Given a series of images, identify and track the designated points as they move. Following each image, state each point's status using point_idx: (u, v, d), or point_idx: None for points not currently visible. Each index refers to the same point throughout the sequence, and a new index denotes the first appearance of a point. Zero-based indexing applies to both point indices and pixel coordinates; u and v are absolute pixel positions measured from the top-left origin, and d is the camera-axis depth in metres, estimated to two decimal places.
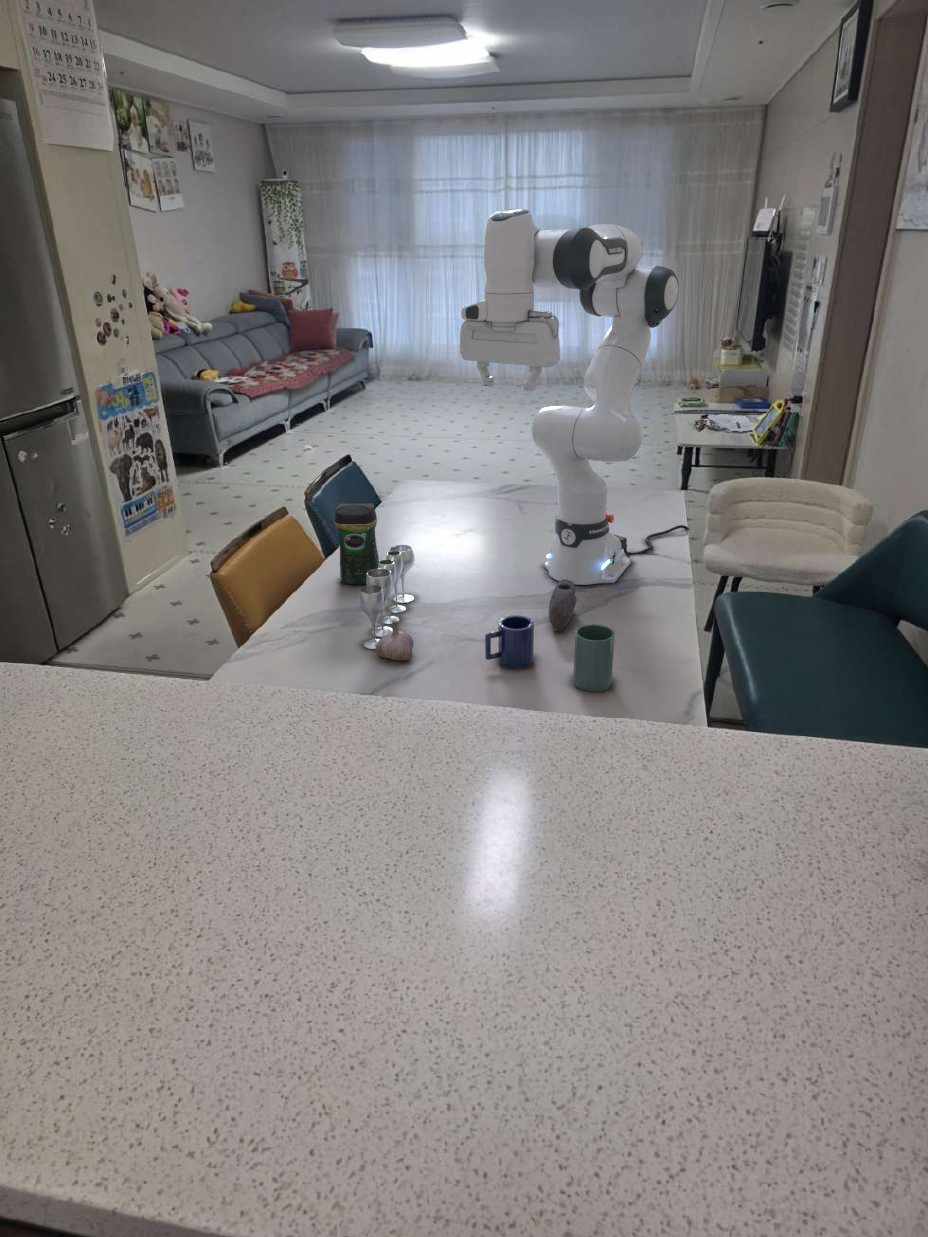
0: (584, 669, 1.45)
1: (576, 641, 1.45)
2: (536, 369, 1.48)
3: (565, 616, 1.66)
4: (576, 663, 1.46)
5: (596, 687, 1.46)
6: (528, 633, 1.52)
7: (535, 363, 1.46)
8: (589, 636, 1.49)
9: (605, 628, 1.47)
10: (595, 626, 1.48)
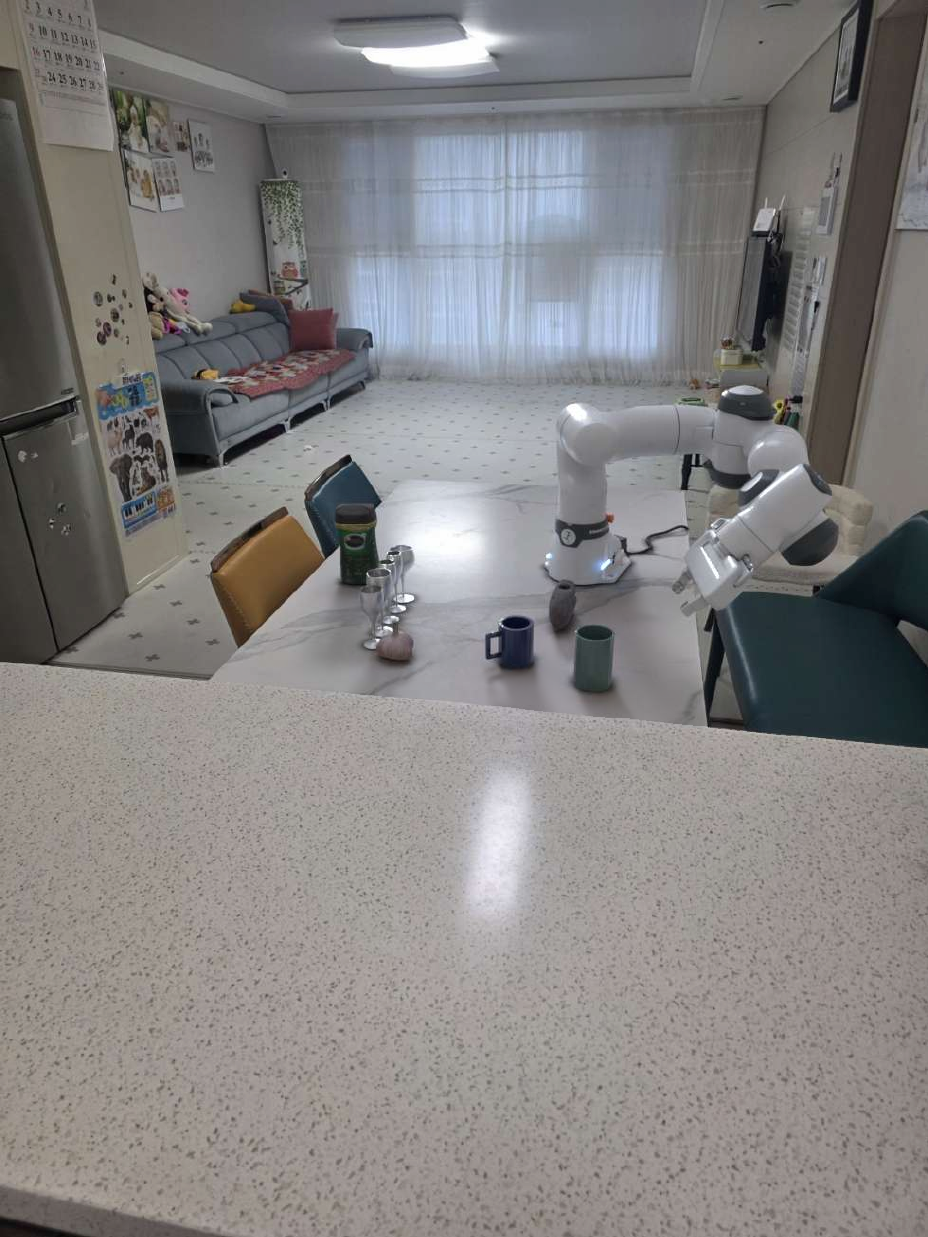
0: (584, 669, 1.45)
1: (576, 641, 1.45)
2: (700, 598, 1.34)
3: (565, 616, 1.66)
4: (576, 663, 1.46)
5: (596, 687, 1.46)
6: (528, 633, 1.52)
7: (702, 590, 1.33)
8: (589, 636, 1.49)
9: (605, 628, 1.47)
10: (595, 626, 1.48)
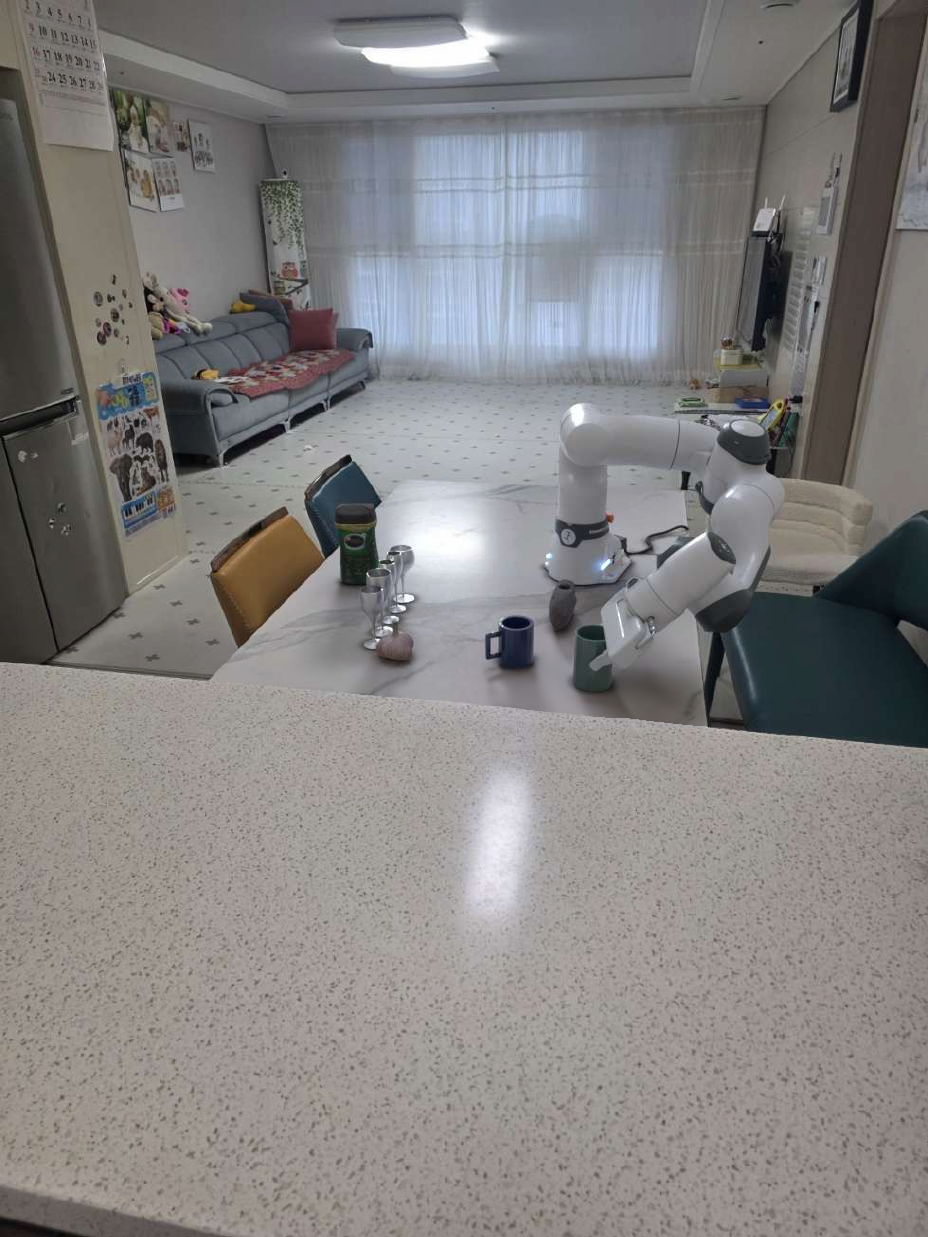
0: (584, 669, 1.45)
1: (576, 641, 1.45)
2: (607, 654, 1.40)
3: (565, 616, 1.66)
4: (576, 663, 1.46)
5: (596, 687, 1.46)
6: (528, 633, 1.52)
7: (608, 649, 1.38)
8: (589, 636, 1.49)
9: None
10: (595, 626, 1.48)
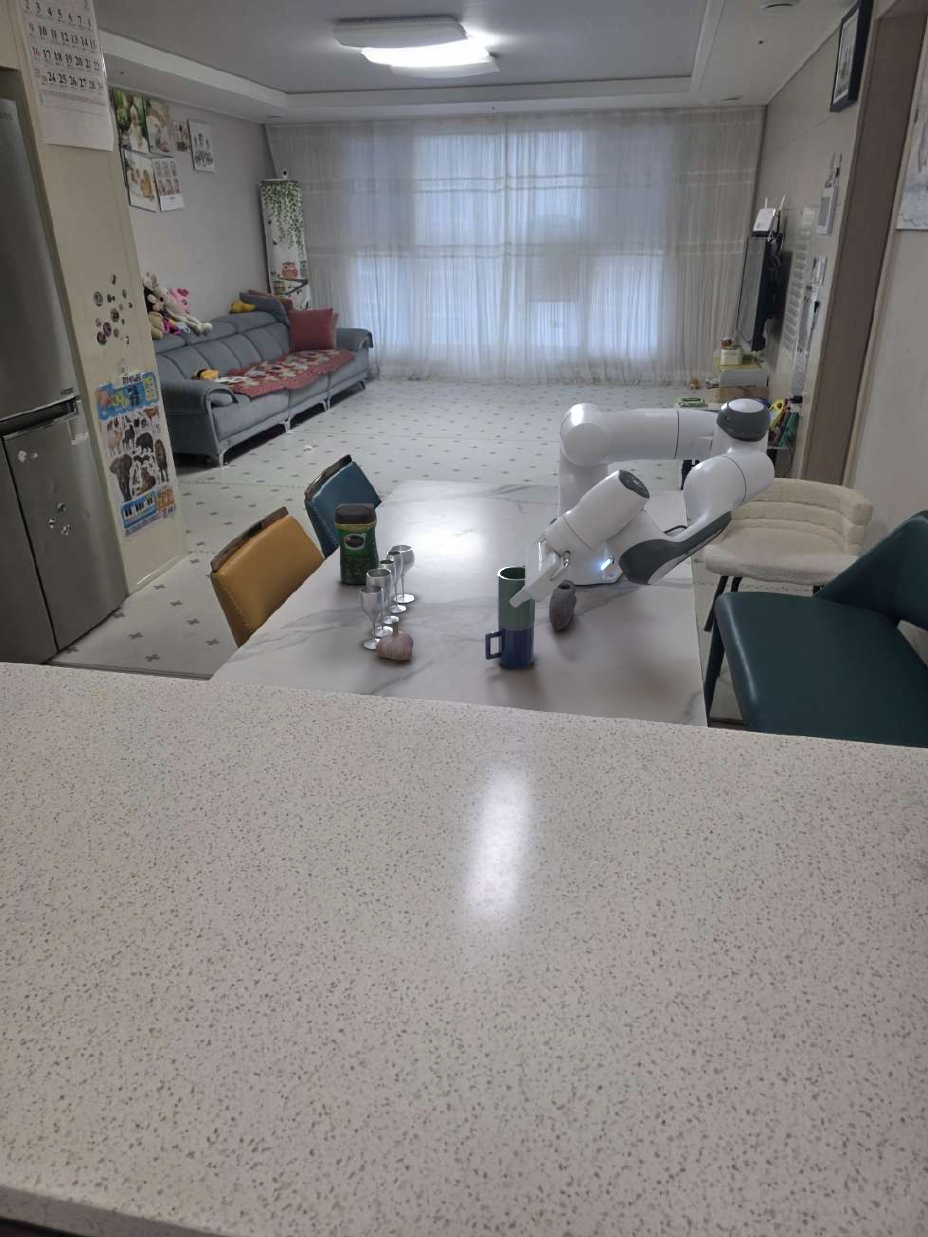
0: (506, 608, 1.50)
1: (498, 581, 1.49)
2: (525, 590, 1.44)
3: (565, 616, 1.66)
4: (499, 603, 1.51)
5: (518, 626, 1.50)
6: (528, 633, 1.52)
7: (525, 582, 1.43)
8: (512, 578, 1.53)
9: None
10: (518, 567, 1.52)
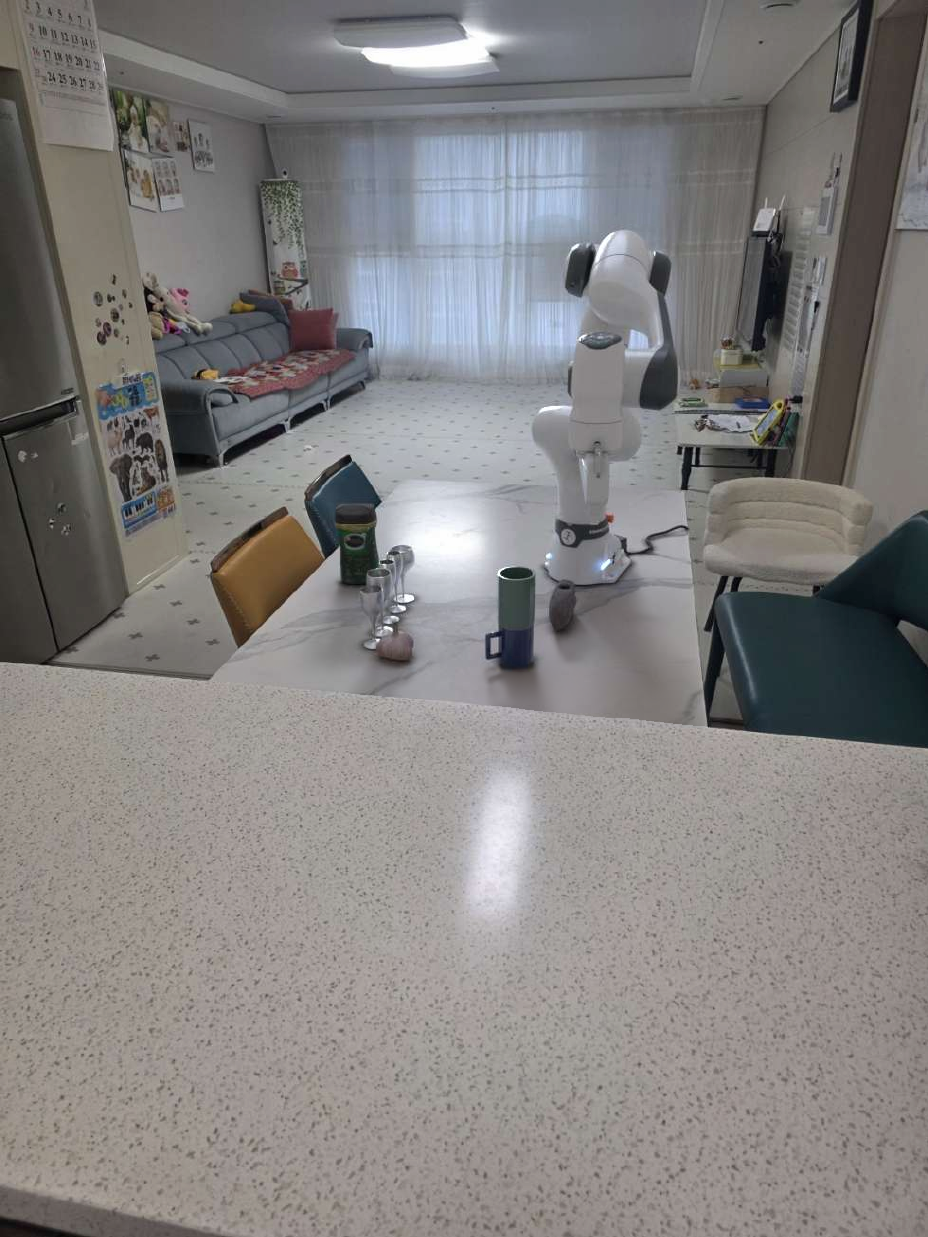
0: (506, 608, 1.50)
1: (498, 581, 1.49)
2: None
3: (565, 616, 1.66)
4: (499, 603, 1.51)
5: (518, 626, 1.50)
6: (528, 633, 1.52)
7: None
8: (512, 578, 1.53)
9: (527, 569, 1.52)
10: (518, 567, 1.52)
